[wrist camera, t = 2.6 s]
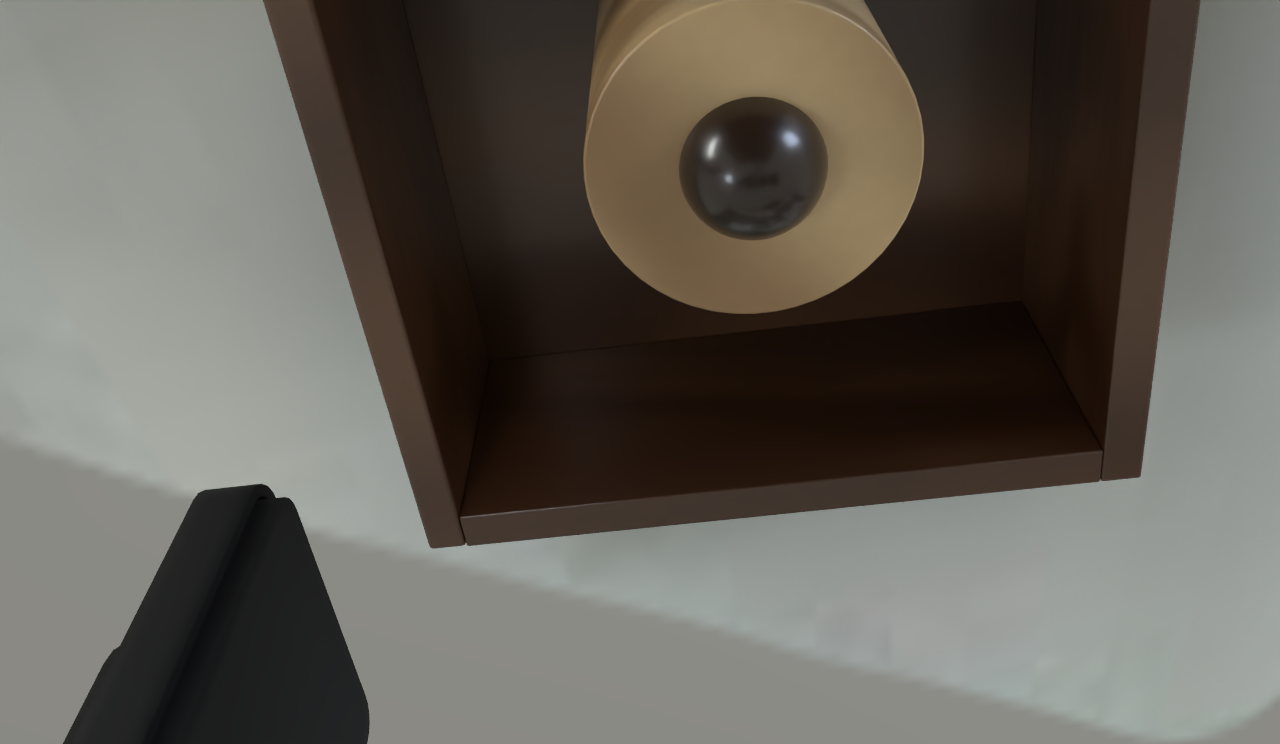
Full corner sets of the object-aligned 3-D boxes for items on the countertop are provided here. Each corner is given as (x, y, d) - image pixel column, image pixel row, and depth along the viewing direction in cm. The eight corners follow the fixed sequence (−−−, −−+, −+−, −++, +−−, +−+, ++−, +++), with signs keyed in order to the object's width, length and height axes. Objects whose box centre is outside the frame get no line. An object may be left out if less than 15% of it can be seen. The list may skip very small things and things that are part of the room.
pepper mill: (741, -183, 23) (797, -65, 15) (888, 16, 25) (1007, 214, 17) (549, -11, 24) (505, 179, 16) (702, 161, 26) (729, 404, 18)
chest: (1044, 308, 29) (1141, 478, 24) (468, 372, 30) (429, 550, 25) (1101, -593, 20) (1286, -670, 14) (258, -452, 21) (116, -473, 15)
